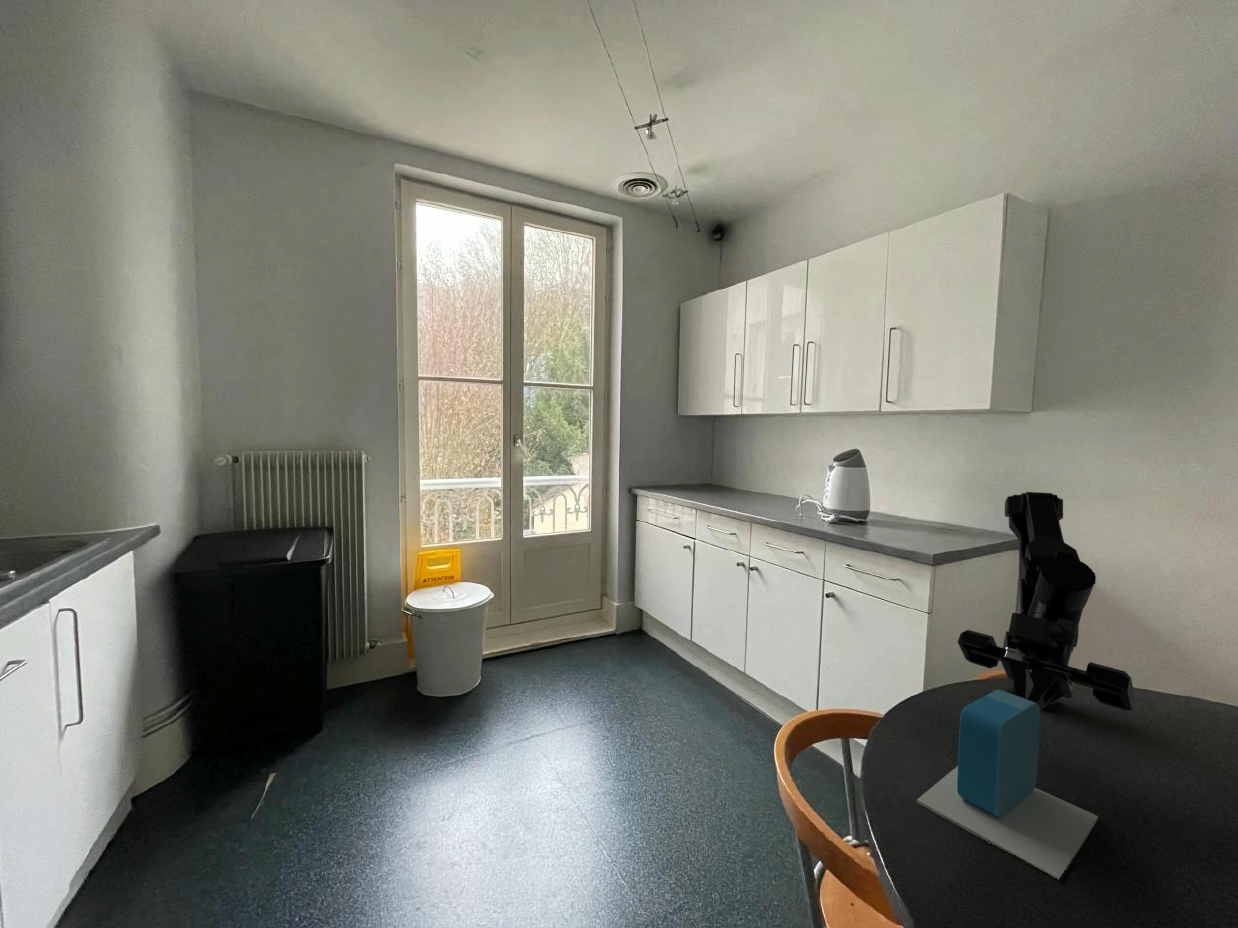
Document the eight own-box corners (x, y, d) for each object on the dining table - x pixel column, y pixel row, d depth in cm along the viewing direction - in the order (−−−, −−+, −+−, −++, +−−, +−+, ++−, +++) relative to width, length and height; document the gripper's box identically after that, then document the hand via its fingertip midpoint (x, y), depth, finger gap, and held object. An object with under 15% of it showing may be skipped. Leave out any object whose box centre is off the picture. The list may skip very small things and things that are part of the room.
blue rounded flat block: (997, 769, 70) (1001, 686, 69) (1037, 788, 66) (1041, 700, 65) (955, 799, 63) (959, 707, 63) (997, 822, 60) (1001, 725, 59)
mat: (967, 759, 72) (967, 757, 72) (1098, 819, 61) (1098, 816, 61) (916, 802, 63) (916, 799, 63) (1058, 881, 52) (1059, 878, 52)
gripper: (964, 578, 78) (930, 663, 72) (1134, 610, 63) (1109, 722, 56) (982, 618, 82) (951, 702, 76) (1143, 658, 67) (1121, 765, 61)
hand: (1022, 719), depth 67 cm, fingers closed
